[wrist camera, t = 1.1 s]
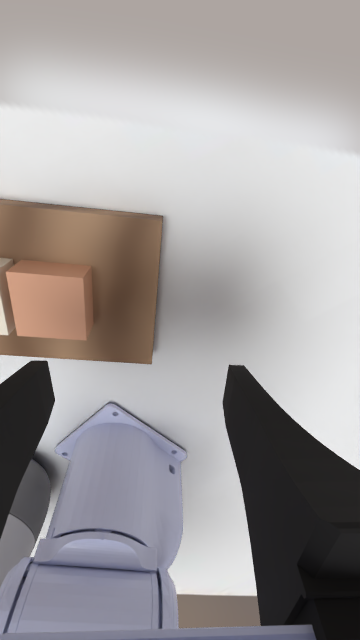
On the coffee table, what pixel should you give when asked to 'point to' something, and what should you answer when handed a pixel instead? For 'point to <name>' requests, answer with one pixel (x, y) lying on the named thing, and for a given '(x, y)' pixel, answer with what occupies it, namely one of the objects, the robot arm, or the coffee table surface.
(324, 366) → the coffee table surface
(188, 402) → the coffee table surface
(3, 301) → the cream tile
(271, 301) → the coffee table surface
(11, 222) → the brown wooden board
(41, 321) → the terracotta tile
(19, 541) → the smart speaker
